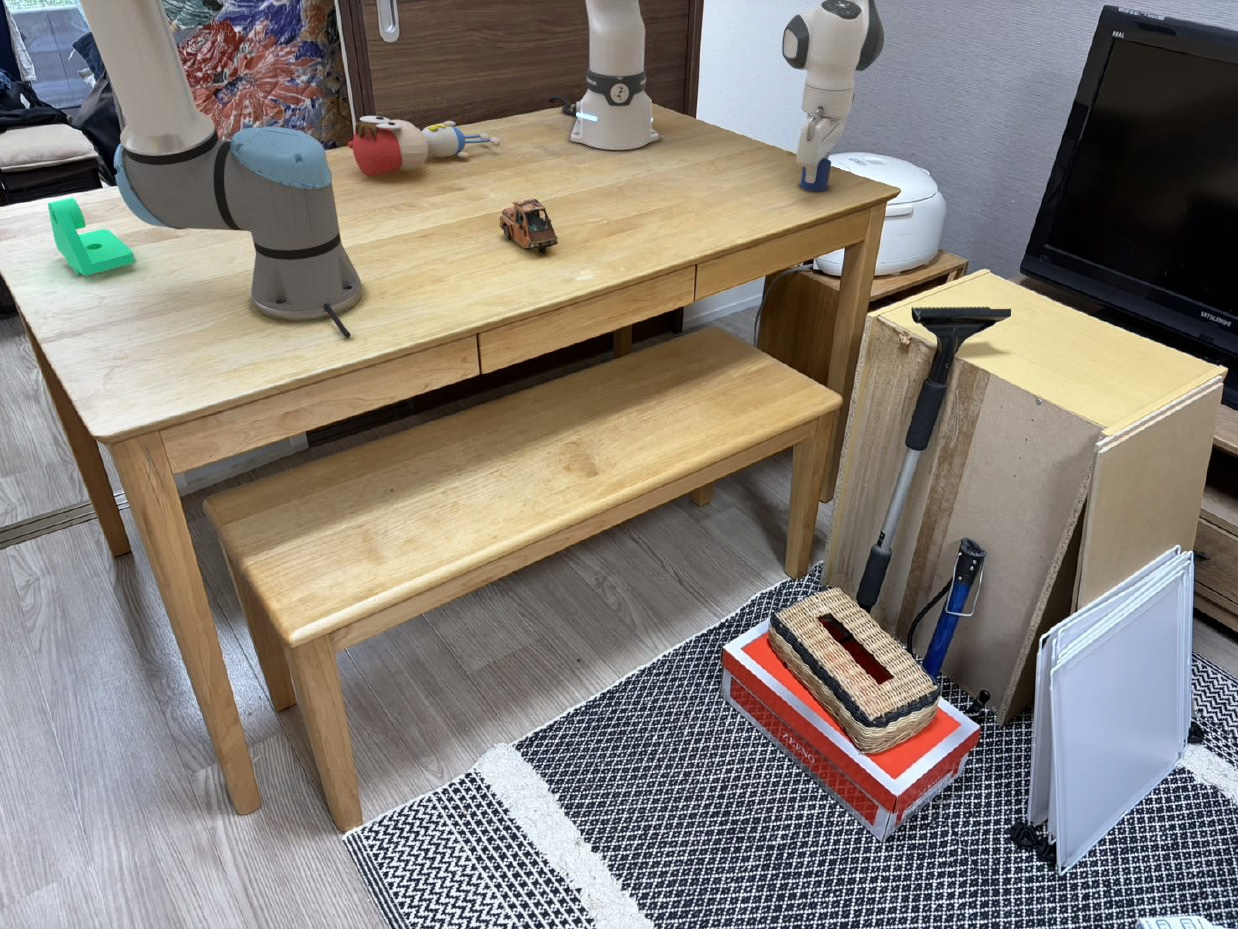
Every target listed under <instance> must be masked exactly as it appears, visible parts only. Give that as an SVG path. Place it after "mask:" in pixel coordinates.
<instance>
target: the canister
mask: <svg viewBox="0 0 1238 929" xmlns="http://www.w3.org/2000/svg"><path fill="white" fill-rule="evenodd" d="M831 167H832V161H831V160H830V159H829V158H828V159H826V158H823V159H822V160H821V161H820V162H819V163H818V166H817V172H818V173H817V179H816V181H815V182H814V183H807V182H806V181H805V178H806V168H805V167H804V166H802V170H801V178H800V188H801V189H803V190H805V191H807V192H813V193H814V192H815V193H816V192H818V193H819V192H821V193H822V192H825V191H827V189H828V187H829V186H828V185H829V179H830V175H831V174H830V173H831Z"/></svg>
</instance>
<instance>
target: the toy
mask: <svg viewBox="0 0 1238 929" xmlns="http://www.w3.org/2000/svg"><path fill="white" fill-rule="evenodd" d="M359 120H360V121H359V122H358V121H357V122H356V124H355V126H354V132H355V133H354V134H353V138H352V140H350V141H349V142H348V143H347V147H348V148H349V149H350V150H351V149H352V154H353V157H354V160H355V163H356V164H357V167H358V168H359V170H360V172H361V173H362V174H363V175H365V176H367V177H378V176H383V175H387V174H390V173H394V172H396V171H401V172H411V171H415V170H418V169H419V168H421V167H422V166H423V165H424V163H425V162H426V160H427V159H428V155H429V156H432V157H436V158H437V157H438V158H446V157H452V156H454V155H456V156H457V157H458V158H459V159H460V158H461V159H465V158H468V157H469V155H470V154H469V153H468V152H466V151H463V150H464V148H465V147H466V144H483V143H490V144H491V145H492V146H494V147H497V148H498V147H500V146H501V144H502V143H501V140H500V139H499V138H498V137H494V136H492V137H490V135H489V134H488V133H485V132H480V133H479V134H475V135H464V133H463V132H462V130H460V129H458V128H457V127H455V126H456V122H455V121H454V120H453V121H452V120H446V121H444V122H440V123H436V124H432V125H429V126H426V127H425V128H424V129H422V130H421V129H419V128H418V127H417V125H416V124H414V123H412V122H410V121H407V120H404V119H401V118H400V119H390V118H387V117H385V116H379V115H365V116H361V117H360V118H359ZM478 138H479V140H467V139H478Z"/></svg>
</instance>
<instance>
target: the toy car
mask: <svg viewBox="0 0 1238 929" xmlns="http://www.w3.org/2000/svg"><path fill="white" fill-rule="evenodd" d="M512 205H513V206H511V207H506V208H504V209H503V210H502V211H501V215H500V216H499V228H500V229H501V230H503V235H504V237H505V239H506V240H511V241H514V242H515V243H516V244H518V245H519V246H520V247H521V248H522V249H524V250H527V251H531V250H535V249H537V250H538V253H539V254H541V255H545V254H546V253H547V249H548V248H552V247H553V246H556V245H558V244H559V242H558V239H559V237H558V236H557V234H556V231H555V229H554V227H553V224H552V219H550V217H549V215H548V213H547V208H546V207H545V206H544V205H543V204H542V203H540V202H539V199H537V198H529V199H528V198H527V199H524V200H523V199H522V200H517V201H513V202H512ZM541 212H542V213H544V216H543V214H541ZM541 216H542V217H541Z"/></svg>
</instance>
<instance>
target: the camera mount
mask: <svg viewBox="0 0 1238 929" xmlns="http://www.w3.org/2000/svg"><path fill="white" fill-rule="evenodd" d="M47 206H48V213H49V217H50V218H49V219H50V223H51V227H52V234H53V239H54V242H55V245H56V248H57V250H58V252H60V253H61V254H62V255H63V257H64V258H65V259H66V262H67V265H68V266H69V267H70V268H71V269H72V270H73V271H74V272H75V273H76V274H77V275H78V276H79V275H82V276H83V277H87V276H91V275H95V274H98V273H102V272H106V271H110V270H114V269H117V268H118V269H119V268H121V267H126V266H130V265H133V264H134V263H135V262H136V258H135V256H134V252H133V250H132V249H131V248H130V247H128V245H126V244H125V243H124V242H123V241H122V240H121V239H120V238H118V237H117V236H116V235H115V234H114V233H113V232H112V231H110V229H106V228H104V229H103V228H102V229H97V230H94V231H89V232H85V233H84V232H83V233H81V234H79V233H78V231H77V230H81V229H84V228H85V229H86V226H87V225H86V221H85V216H84V214H83V212H82V210H81V207H80V205H79V204H78V202H77V200H76V199H75V198H74V197H70V198H65V199H61V200H56V201H51V202H48V203H47Z"/></svg>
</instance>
